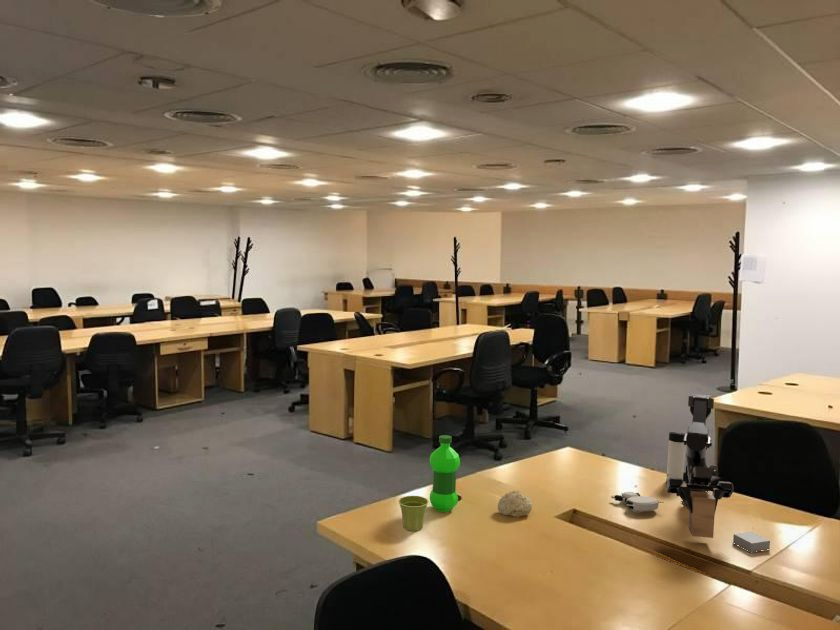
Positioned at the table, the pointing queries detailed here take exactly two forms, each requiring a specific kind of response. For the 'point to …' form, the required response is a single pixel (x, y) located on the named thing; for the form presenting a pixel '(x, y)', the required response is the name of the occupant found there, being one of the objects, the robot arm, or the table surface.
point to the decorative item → (514, 504)
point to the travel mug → (675, 455)
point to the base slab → (751, 541)
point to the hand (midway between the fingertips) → (702, 513)
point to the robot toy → (637, 501)
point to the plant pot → (413, 512)
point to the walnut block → (702, 514)
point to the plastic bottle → (444, 475)
